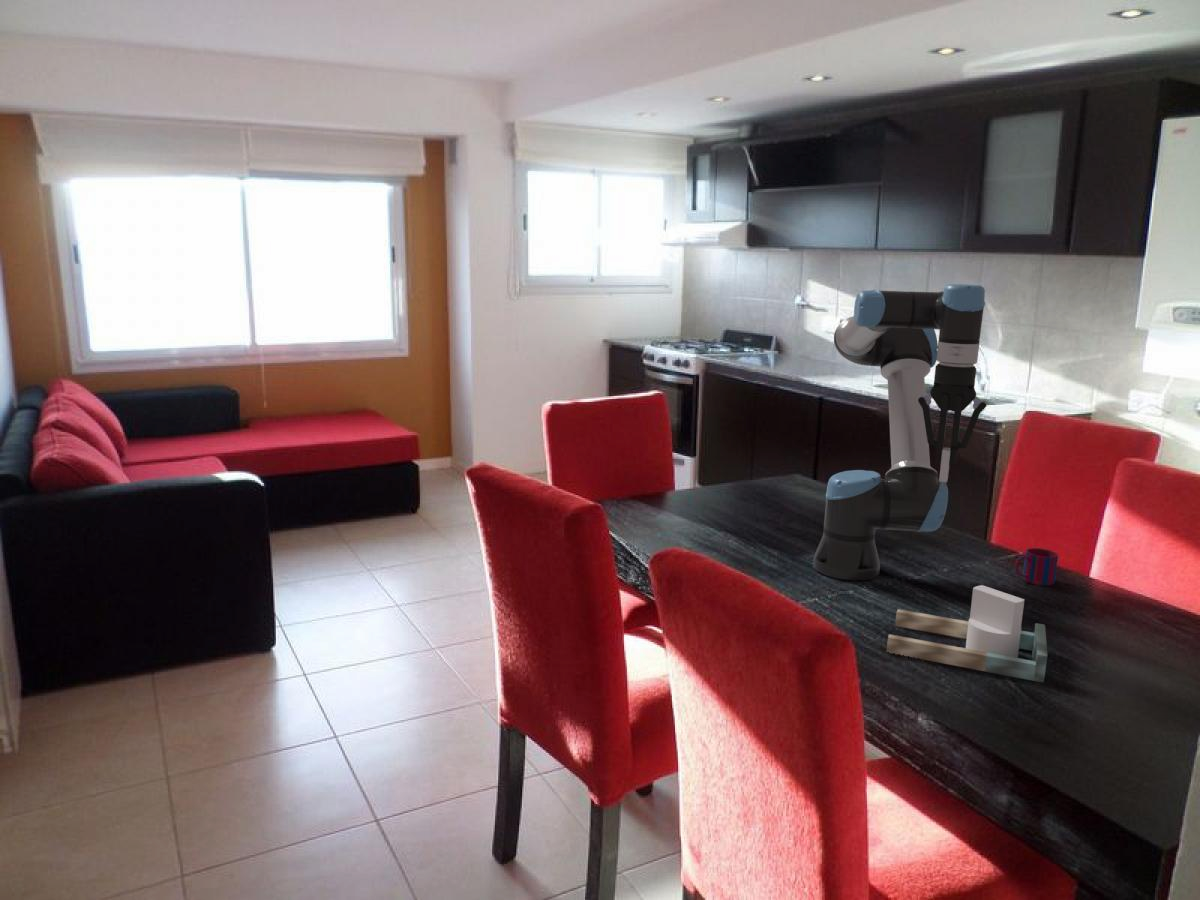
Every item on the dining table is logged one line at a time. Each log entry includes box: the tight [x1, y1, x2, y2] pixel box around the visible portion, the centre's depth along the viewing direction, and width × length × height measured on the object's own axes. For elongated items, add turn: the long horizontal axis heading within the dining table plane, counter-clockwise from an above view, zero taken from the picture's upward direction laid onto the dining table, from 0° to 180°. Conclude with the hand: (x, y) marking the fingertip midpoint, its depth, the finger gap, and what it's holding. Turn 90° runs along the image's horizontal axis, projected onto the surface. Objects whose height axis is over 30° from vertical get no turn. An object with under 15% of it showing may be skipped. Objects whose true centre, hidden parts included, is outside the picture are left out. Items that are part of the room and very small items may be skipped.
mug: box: [1014, 547, 1059, 587], centre depth 207 cm, size 7×10×7 cm
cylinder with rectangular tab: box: [965, 584, 1025, 658], centre depth 168 cm, size 9×9×12 cm
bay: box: [886, 608, 1048, 683], centre depth 170 cm, size 27×15×5 cm, turn 66°
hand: (943, 480), depth 182 cm, fingers closed
